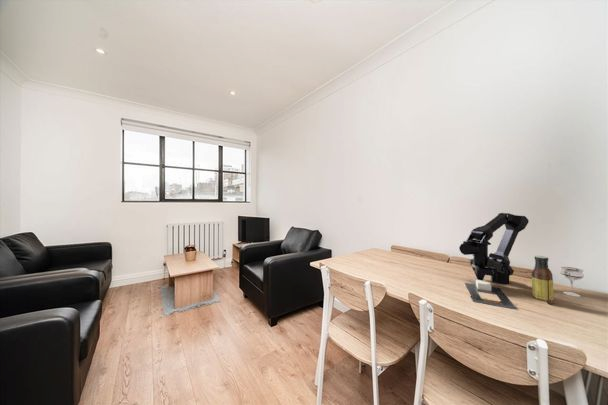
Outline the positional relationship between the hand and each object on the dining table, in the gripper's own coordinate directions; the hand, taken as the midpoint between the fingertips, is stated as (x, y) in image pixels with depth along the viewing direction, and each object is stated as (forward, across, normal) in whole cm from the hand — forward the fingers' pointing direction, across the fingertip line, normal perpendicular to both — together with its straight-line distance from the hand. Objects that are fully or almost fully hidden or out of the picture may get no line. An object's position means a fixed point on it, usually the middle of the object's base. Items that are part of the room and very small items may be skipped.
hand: (480, 283), depth 109 cm
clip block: (+1, -5, 0) cm, 5 cm away
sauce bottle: (+2, -7, -20) cm, 21 cm away
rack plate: (+2, -11, 0) cm, 11 cm away
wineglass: (+2, +8, -35) cm, 36 cm away
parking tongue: (+2, +2, 0) cm, 2 cm away
